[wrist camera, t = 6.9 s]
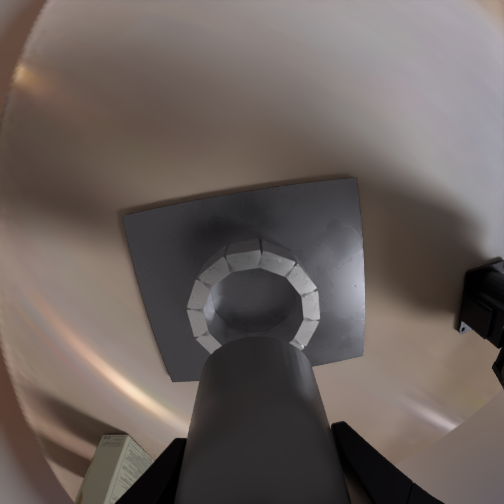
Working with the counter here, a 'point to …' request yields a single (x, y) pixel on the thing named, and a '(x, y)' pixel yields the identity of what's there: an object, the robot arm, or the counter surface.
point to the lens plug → (260, 431)
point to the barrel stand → (253, 272)
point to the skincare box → (113, 470)
